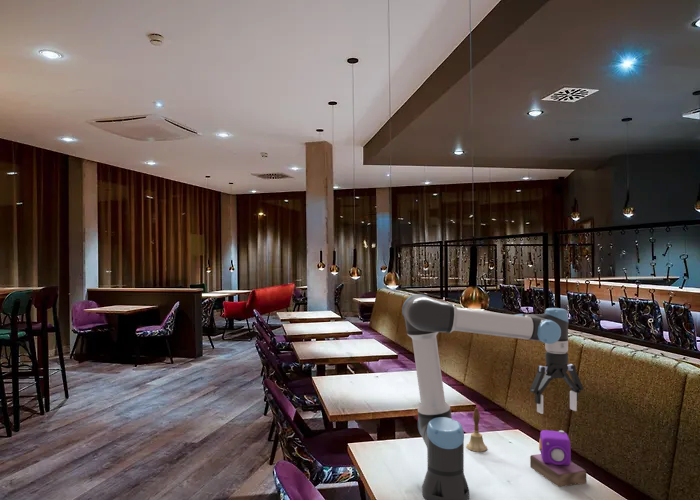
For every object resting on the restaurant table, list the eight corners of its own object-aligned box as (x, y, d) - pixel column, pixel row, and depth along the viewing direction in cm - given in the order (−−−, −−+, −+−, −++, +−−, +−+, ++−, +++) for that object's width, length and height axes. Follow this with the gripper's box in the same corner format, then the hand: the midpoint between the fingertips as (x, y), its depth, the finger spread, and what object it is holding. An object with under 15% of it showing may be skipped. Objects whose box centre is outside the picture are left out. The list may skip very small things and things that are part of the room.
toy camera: (546, 470, 168) (546, 441, 168) (535, 454, 181) (534, 427, 182) (579, 471, 167) (578, 442, 167) (565, 455, 180) (564, 428, 181)
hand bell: (462, 446, 200) (461, 407, 200) (477, 442, 204) (477, 404, 204) (476, 453, 193) (476, 413, 193) (491, 449, 197) (491, 409, 197)
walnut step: (558, 486, 165) (558, 473, 165) (530, 466, 181) (530, 454, 181) (586, 483, 168) (586, 470, 168) (556, 463, 183) (556, 452, 183)
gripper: (532, 355, 168) (532, 417, 168) (594, 352, 174) (594, 411, 174) (519, 351, 175) (519, 410, 175) (579, 348, 181) (579, 405, 181)
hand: (556, 411), depth 174 cm, fingers open, 13 cm apart
